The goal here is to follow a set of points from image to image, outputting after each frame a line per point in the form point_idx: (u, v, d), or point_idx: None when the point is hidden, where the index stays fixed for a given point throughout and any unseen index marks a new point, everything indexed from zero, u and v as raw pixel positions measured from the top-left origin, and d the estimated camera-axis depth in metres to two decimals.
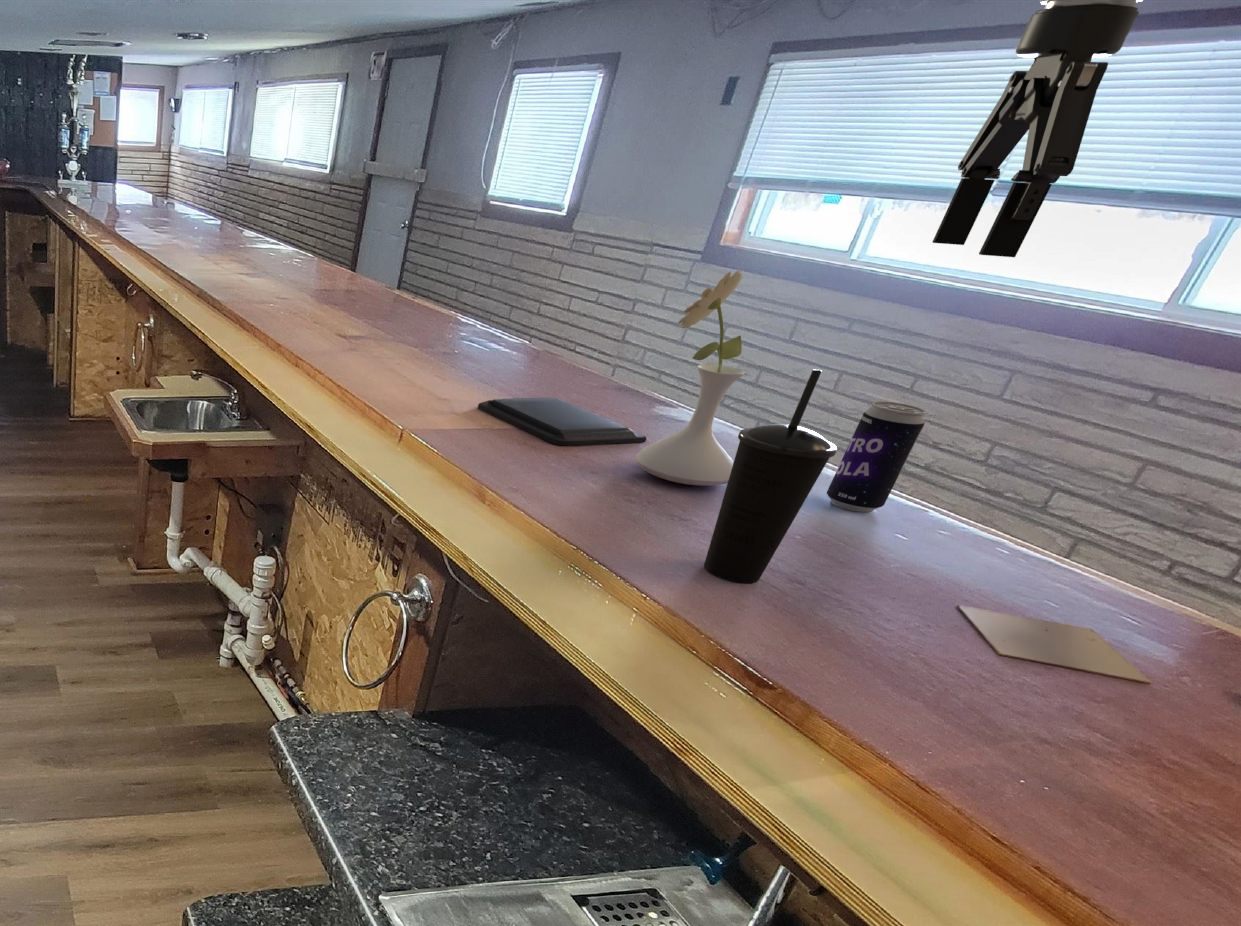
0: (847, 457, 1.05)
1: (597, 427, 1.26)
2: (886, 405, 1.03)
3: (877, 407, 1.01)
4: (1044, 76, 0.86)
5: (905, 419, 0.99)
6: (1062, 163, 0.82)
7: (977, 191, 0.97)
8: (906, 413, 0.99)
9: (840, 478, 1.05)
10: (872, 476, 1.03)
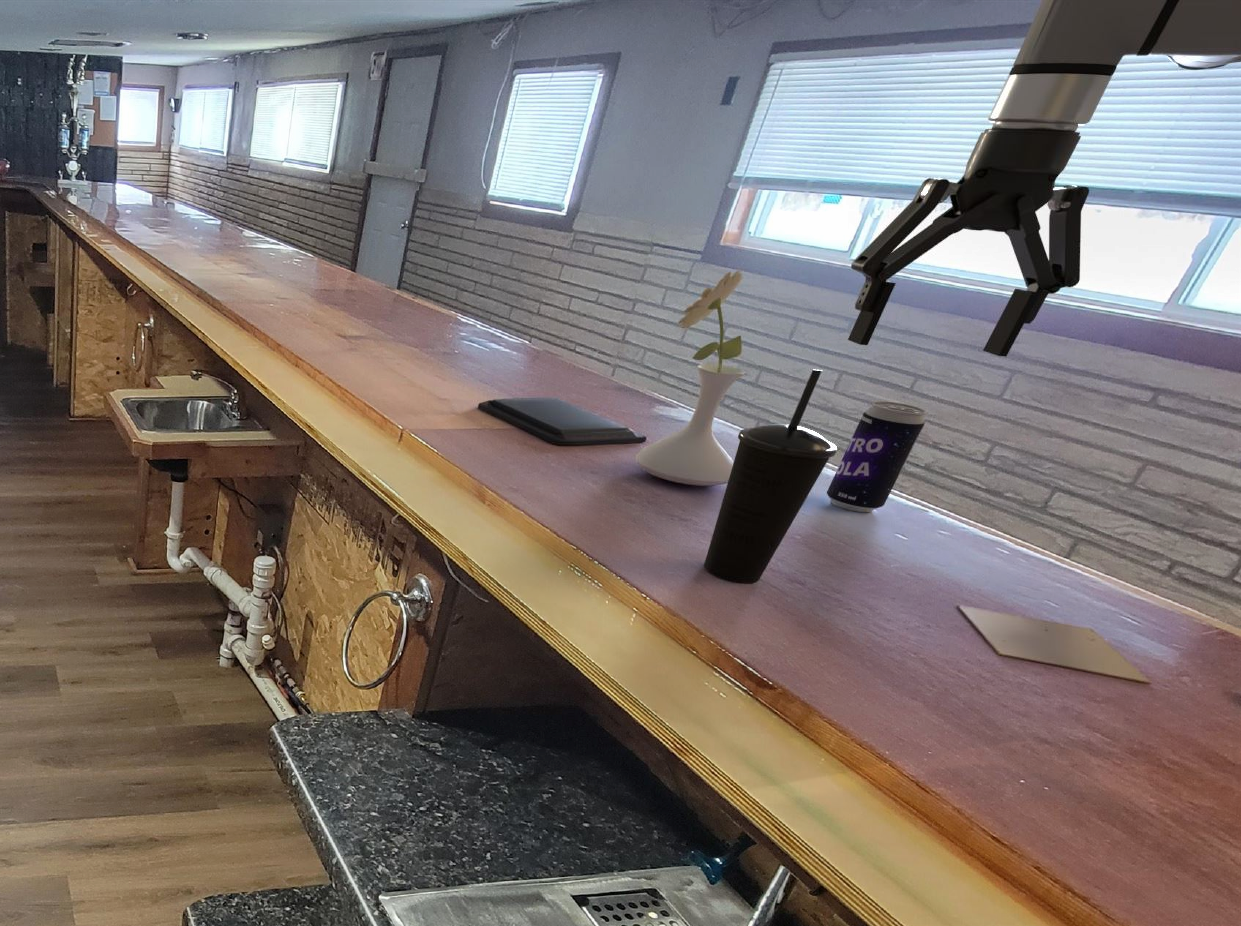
0: (847, 457, 1.05)
1: (597, 427, 1.26)
2: (886, 405, 1.03)
3: (877, 407, 1.01)
4: None
5: (905, 419, 0.99)
6: (862, 261, 0.95)
7: (1019, 302, 0.94)
8: (906, 413, 0.99)
9: (840, 478, 1.05)
10: (872, 476, 1.03)
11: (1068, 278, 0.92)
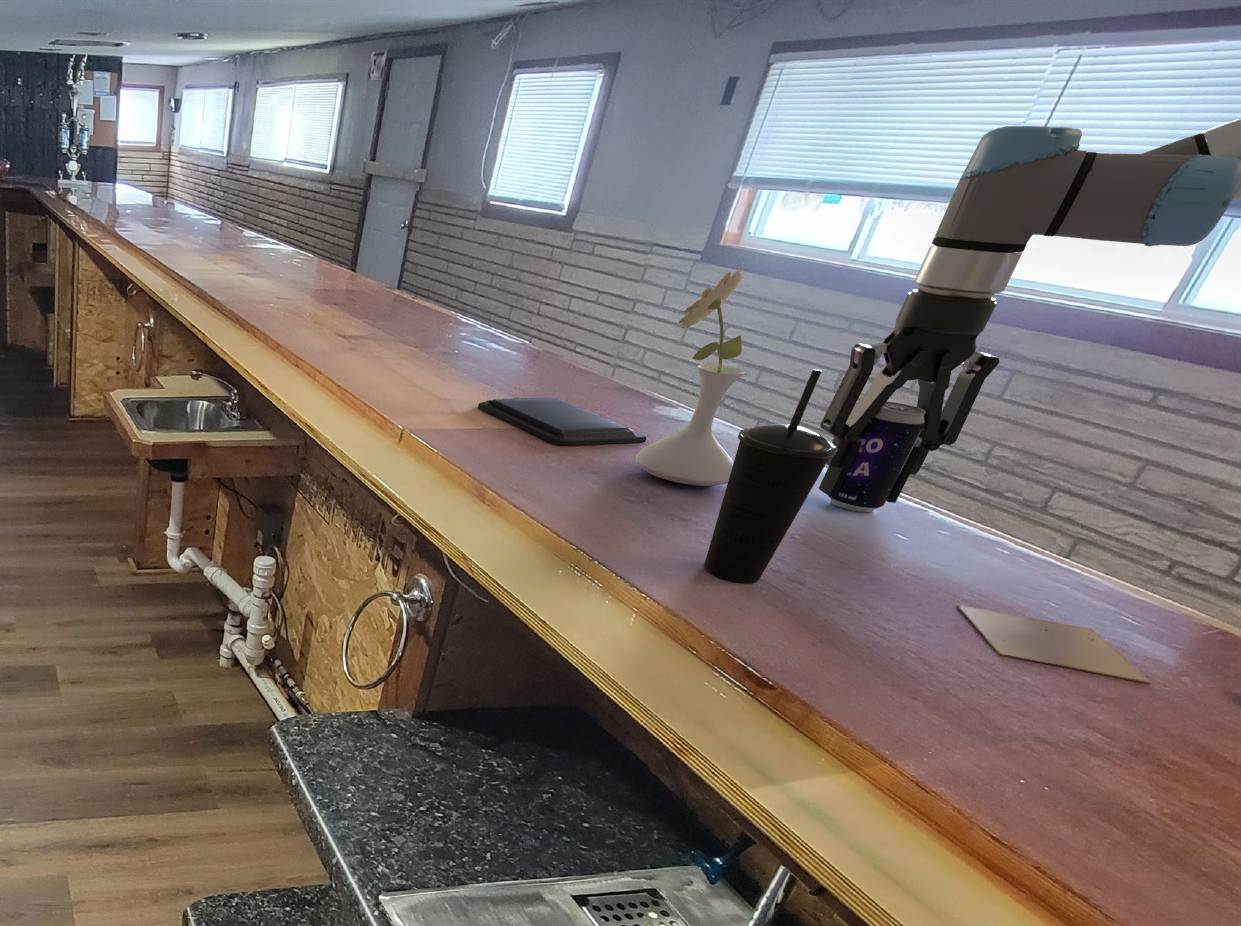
0: None
1: (597, 427, 1.26)
2: (886, 405, 1.03)
3: None
4: None
5: (905, 419, 0.99)
6: (830, 423, 1.03)
7: None
8: (906, 413, 0.99)
9: None
10: (872, 476, 1.03)
11: (948, 436, 1.00)
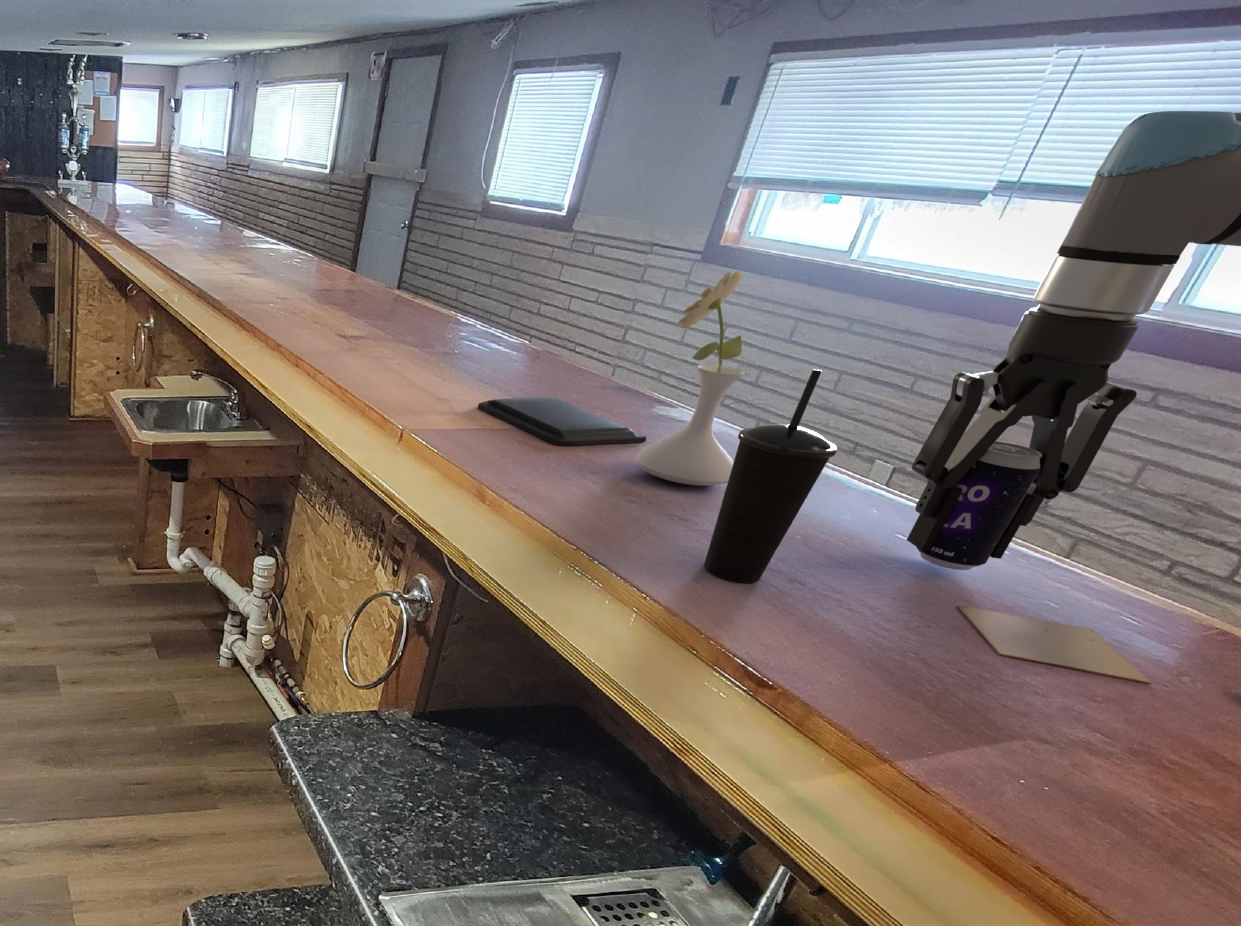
0: None
1: (597, 427, 1.26)
2: (992, 445, 0.87)
3: None
4: None
5: (1018, 464, 0.83)
6: (925, 466, 0.87)
7: None
8: (1019, 456, 0.83)
9: None
10: (975, 529, 0.87)
11: (1069, 482, 0.84)
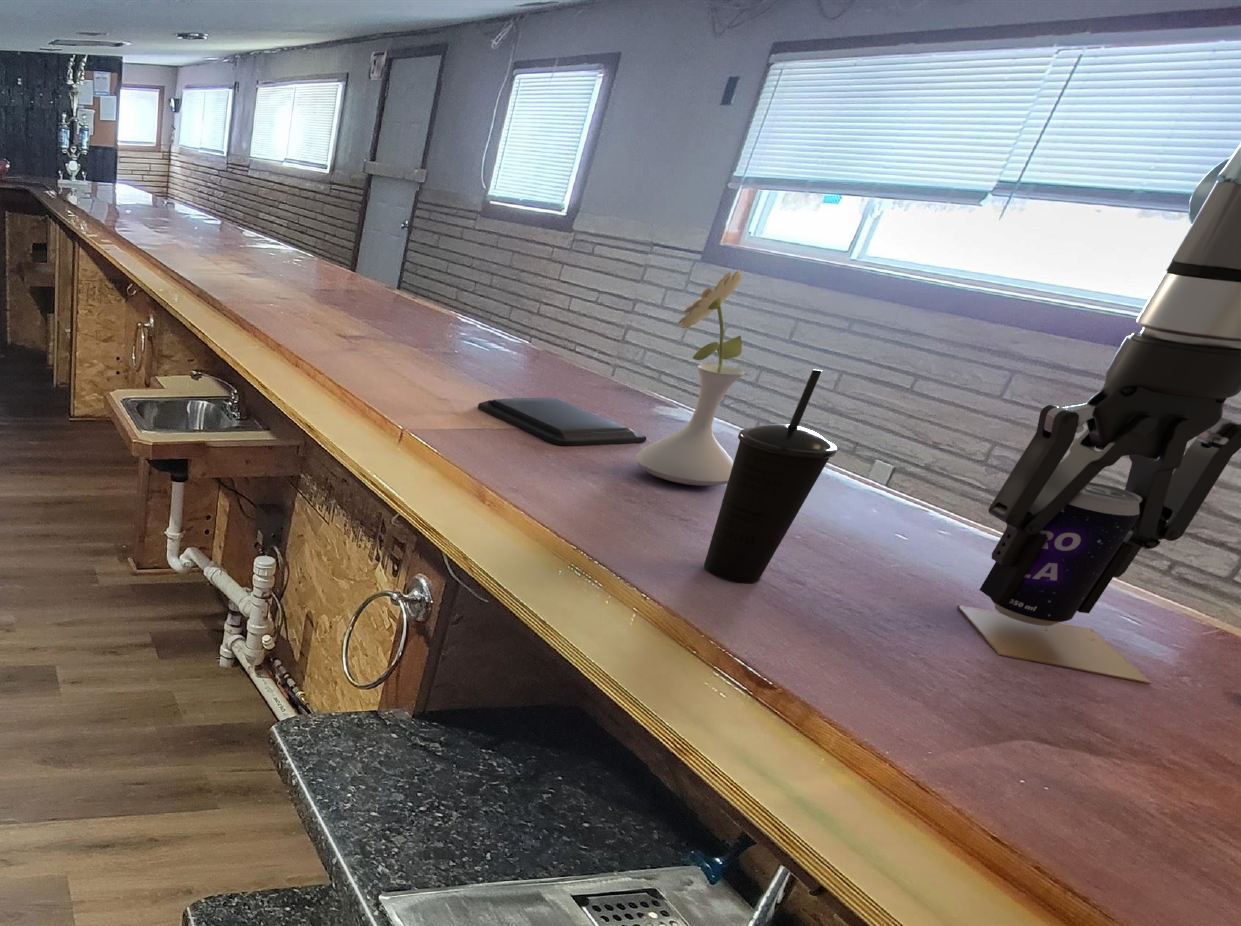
0: None
1: (597, 427, 1.26)
2: None
3: None
4: None
5: (1116, 509, 0.73)
6: (1005, 509, 0.77)
7: None
8: (1117, 501, 0.73)
9: None
10: (1062, 582, 0.76)
11: (1172, 529, 0.74)
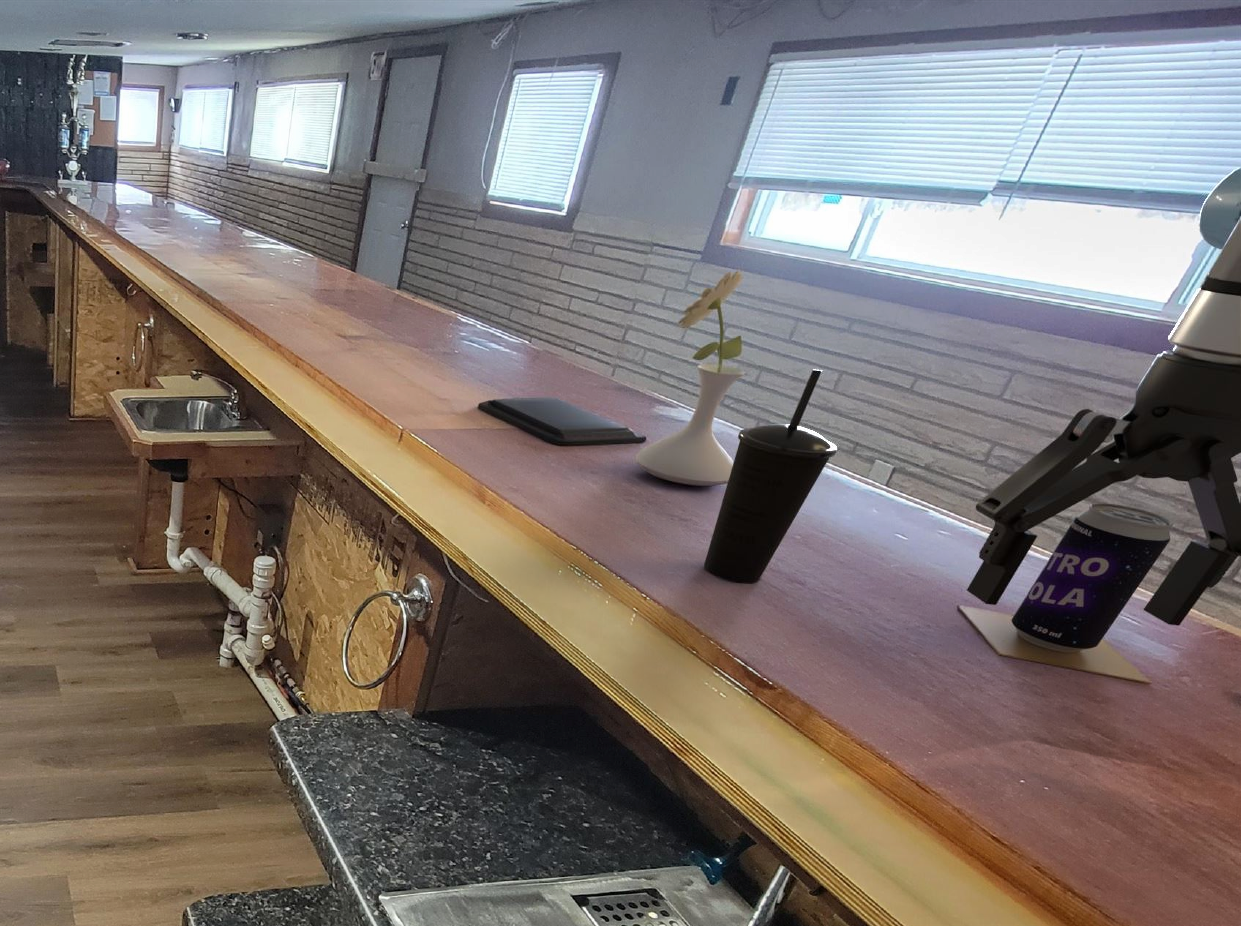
0: (1048, 577, 0.76)
1: (597, 427, 1.26)
2: (1108, 509, 0.74)
3: (1100, 514, 0.72)
4: None
5: (1145, 534, 0.70)
6: (993, 506, 0.74)
7: (1199, 562, 0.73)
8: (1147, 525, 0.70)
9: (1036, 605, 0.76)
10: (1089, 608, 0.74)
11: None
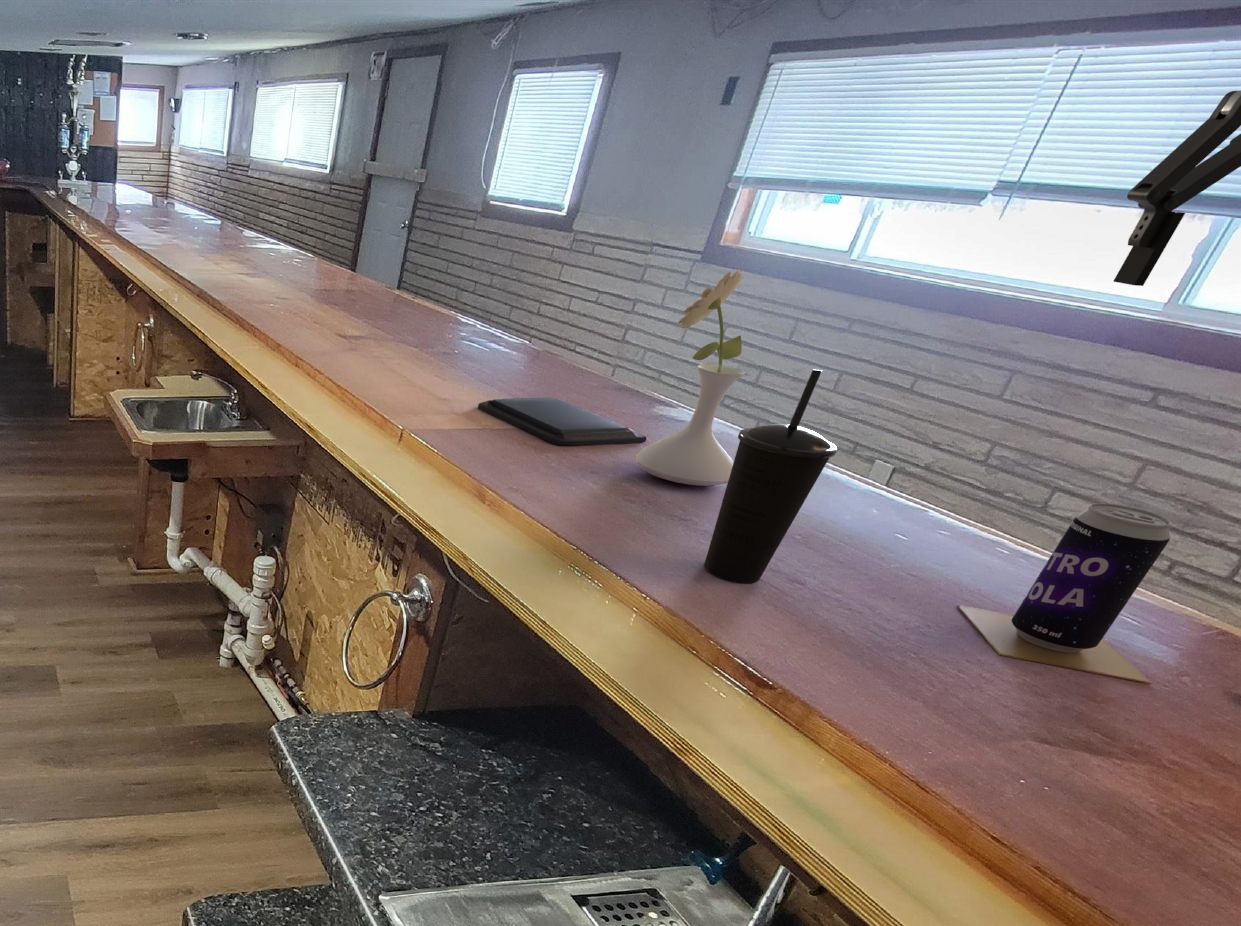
0: (1048, 577, 0.76)
1: (597, 427, 1.26)
2: (1108, 509, 0.74)
3: (1100, 514, 0.72)
4: None
5: (1145, 534, 0.70)
6: (1145, 189, 0.84)
7: None
8: (1147, 525, 0.70)
9: (1036, 605, 0.76)
10: (1089, 608, 0.74)
11: None
